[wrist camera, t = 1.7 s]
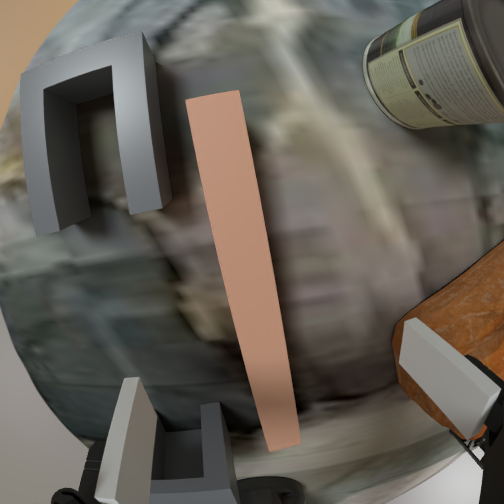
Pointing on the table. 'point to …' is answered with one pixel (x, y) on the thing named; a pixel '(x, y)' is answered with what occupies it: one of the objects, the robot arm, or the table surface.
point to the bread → (462, 325)
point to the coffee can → (441, 66)
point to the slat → (245, 258)
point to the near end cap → (67, 133)
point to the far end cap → (194, 463)
